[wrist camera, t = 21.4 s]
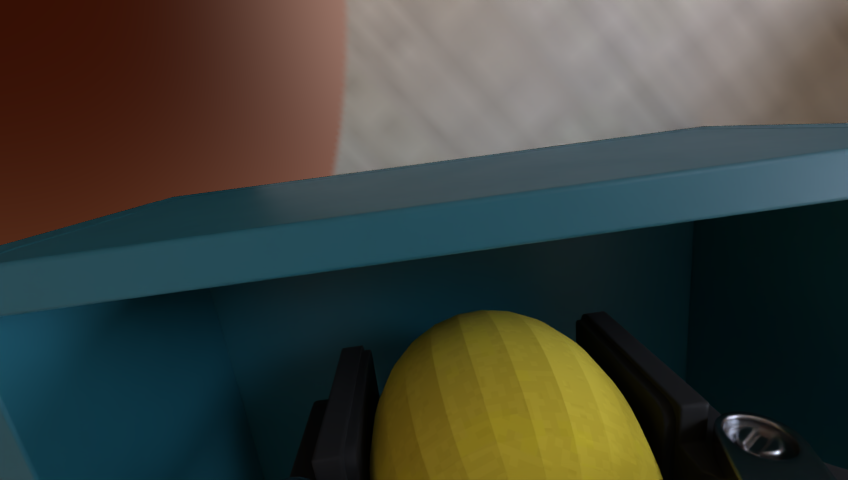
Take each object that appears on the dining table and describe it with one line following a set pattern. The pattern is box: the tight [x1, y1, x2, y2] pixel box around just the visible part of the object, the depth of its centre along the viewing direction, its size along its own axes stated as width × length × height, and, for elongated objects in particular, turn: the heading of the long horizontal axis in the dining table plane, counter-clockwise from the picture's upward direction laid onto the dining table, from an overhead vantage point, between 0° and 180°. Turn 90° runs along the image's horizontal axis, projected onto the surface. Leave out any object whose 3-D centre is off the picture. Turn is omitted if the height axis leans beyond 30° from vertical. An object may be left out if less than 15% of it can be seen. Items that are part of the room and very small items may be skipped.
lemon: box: [369, 310, 663, 480], centre depth 9 cm, size 6×6×8 cm
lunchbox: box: [0, 123, 848, 480], centre depth 11 cm, size 13×17×7 cm
